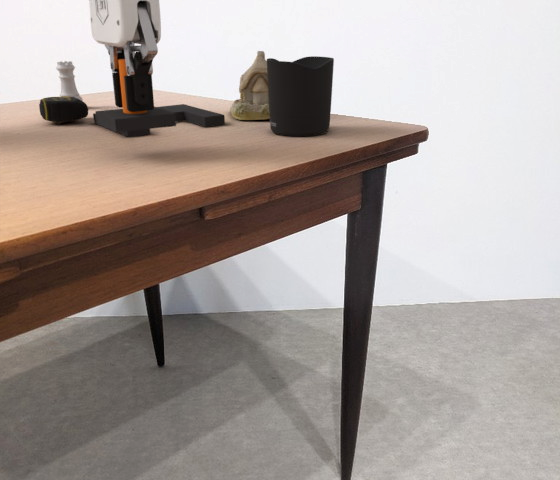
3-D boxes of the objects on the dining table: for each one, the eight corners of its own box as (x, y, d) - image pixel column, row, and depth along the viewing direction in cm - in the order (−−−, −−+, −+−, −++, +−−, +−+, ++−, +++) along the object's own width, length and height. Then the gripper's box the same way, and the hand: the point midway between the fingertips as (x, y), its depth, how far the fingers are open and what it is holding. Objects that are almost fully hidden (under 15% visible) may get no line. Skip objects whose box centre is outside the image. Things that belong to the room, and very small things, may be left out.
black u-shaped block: (127, 137, 86) (126, 126, 85) (94, 123, 96) (92, 113, 96) (225, 124, 94) (224, 114, 94) (184, 112, 105) (183, 104, 104)
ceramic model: (232, 107, 109) (230, 48, 105) (294, 107, 109) (294, 47, 105) (225, 121, 96) (222, 55, 92) (296, 121, 96) (296, 54, 92)
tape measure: (91, 123, 96) (87, 99, 95) (46, 127, 93) (42, 102, 92) (81, 117, 102) (77, 94, 100) (38, 121, 99) (34, 97, 97)
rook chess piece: (54, 108, 110) (47, 61, 107) (77, 105, 113) (71, 60, 110) (65, 111, 107) (57, 63, 104) (88, 108, 110) (82, 61, 107)
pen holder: (279, 124, 94) (278, 55, 90) (338, 126, 91) (340, 56, 87) (259, 135, 86) (257, 61, 82) (323, 139, 83) (324, 62, 79)
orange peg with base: (116, 132, 69) (109, 63, 66) (96, 123, 74) (89, 58, 71) (176, 126, 73) (172, 60, 70) (154, 117, 78) (149, 56, 75)
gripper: (60, -65, 69) (81, 101, 77) (113, -77, 57) (131, 122, 65) (123, -61, 73) (137, 97, 81) (185, -71, 61) (194, 115, 69)
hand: (134, 106), depth 73 cm, fingers closed on orange peg with base, 2 cm apart
